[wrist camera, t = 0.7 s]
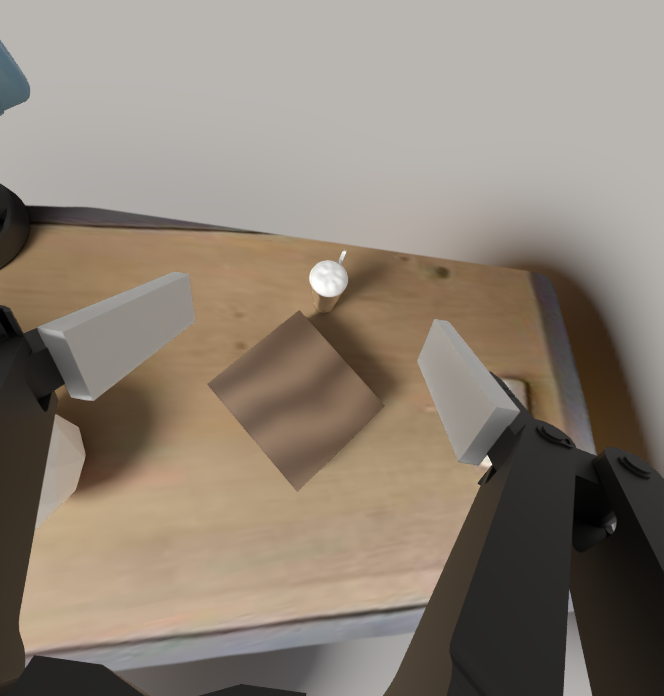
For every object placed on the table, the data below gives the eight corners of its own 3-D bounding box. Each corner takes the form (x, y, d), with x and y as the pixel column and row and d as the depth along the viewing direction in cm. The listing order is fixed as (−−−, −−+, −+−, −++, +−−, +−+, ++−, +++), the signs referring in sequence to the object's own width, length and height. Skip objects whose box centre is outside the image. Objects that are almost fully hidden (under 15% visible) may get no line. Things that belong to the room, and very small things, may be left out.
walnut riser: (221, 385, 34) (207, 384, 29) (300, 321, 37) (299, 310, 32) (298, 477, 33) (297, 491, 28) (374, 404, 36) (384, 405, 31)
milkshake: (347, 295, 38) (362, 261, 28) (328, 323, 37) (336, 297, 27) (323, 278, 38) (329, 239, 28) (302, 305, 37) (301, 274, 27)
